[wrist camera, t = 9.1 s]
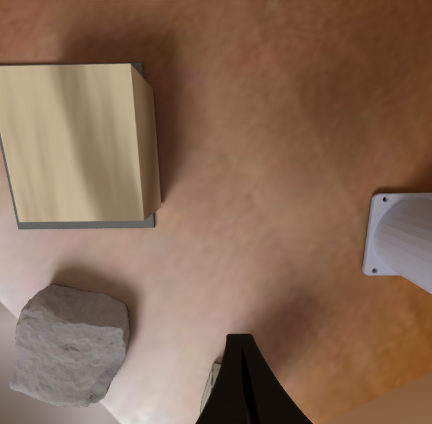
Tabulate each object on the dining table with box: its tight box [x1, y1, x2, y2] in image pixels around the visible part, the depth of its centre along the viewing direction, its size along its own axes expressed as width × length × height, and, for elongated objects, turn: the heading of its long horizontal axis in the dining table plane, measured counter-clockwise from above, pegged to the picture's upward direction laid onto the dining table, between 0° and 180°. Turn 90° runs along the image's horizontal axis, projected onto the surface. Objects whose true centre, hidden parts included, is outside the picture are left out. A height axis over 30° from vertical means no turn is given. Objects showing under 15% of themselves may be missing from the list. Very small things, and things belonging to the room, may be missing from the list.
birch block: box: [0, 64, 161, 222], centre depth 17 cm, size 5×10×9 cm
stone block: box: [10, 284, 130, 407], centre depth 23 cm, size 12×5×10 cm
